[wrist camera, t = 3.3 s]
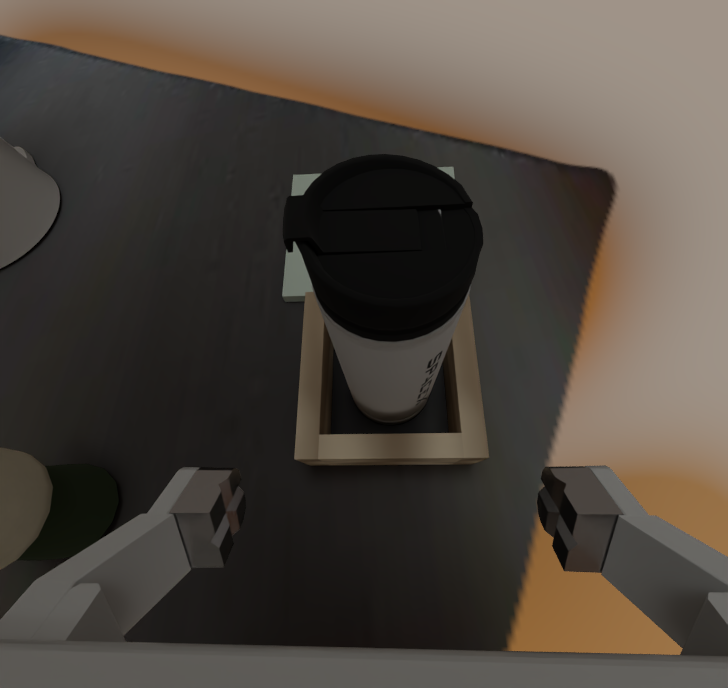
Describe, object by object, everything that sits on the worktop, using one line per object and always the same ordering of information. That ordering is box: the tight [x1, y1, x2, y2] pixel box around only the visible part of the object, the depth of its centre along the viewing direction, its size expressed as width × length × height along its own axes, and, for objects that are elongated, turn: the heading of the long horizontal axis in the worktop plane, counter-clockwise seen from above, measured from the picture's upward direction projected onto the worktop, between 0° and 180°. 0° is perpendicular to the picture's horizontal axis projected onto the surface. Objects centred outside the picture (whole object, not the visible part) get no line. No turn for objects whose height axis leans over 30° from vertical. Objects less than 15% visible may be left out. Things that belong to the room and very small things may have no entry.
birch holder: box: [294, 292, 489, 465], centre depth 28 cm, size 12×12×5 cm
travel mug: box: [283, 154, 483, 425], centre depth 21 cm, size 6×7×20 cm
